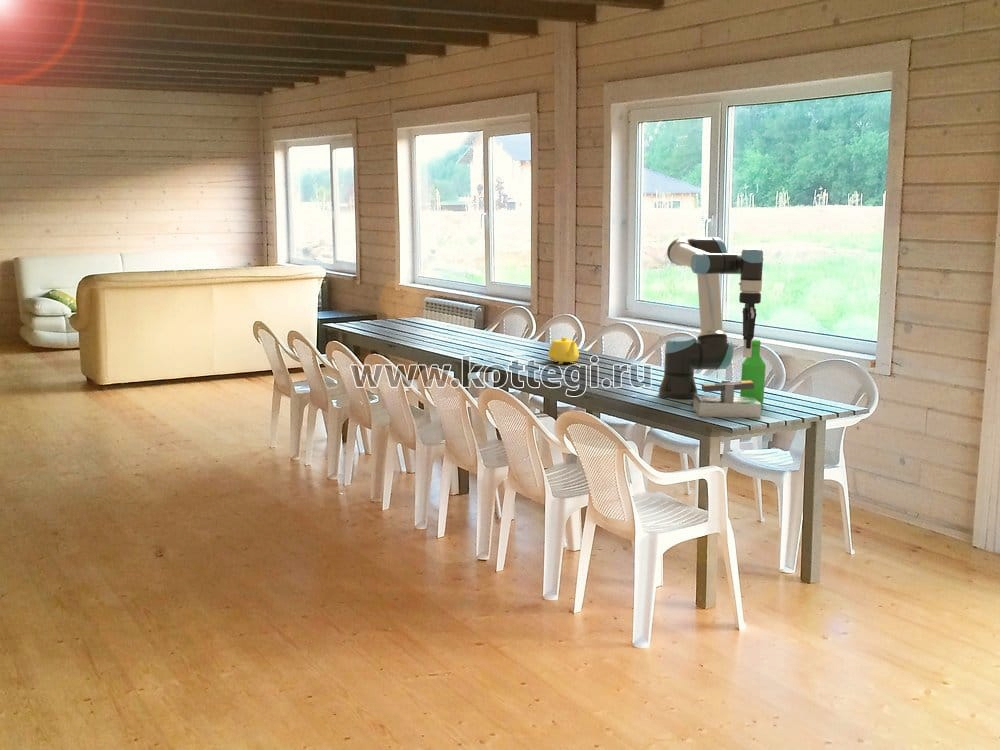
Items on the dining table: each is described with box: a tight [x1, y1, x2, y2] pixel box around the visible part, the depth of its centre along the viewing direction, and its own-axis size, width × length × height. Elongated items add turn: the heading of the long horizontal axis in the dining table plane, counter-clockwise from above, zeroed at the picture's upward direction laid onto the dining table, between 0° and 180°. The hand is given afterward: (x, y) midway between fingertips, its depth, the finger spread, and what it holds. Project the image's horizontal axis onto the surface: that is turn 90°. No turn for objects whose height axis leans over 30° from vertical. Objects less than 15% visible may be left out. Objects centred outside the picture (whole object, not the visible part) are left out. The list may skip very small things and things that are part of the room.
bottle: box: [739, 338, 767, 406], centre depth 386 cm, size 9×9×25 cm
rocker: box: [701, 380, 754, 393], centre depth 369 cm, size 6×18×2 cm, turn 88°
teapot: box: [548, 336, 580, 364], centre depth 481 cm, size 13×20×12 cm
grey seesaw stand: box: [692, 380, 762, 419], centre depth 370 cm, size 14×22×11 cm, turn 88°
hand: (747, 357), depth 367 cm, fingers closed
